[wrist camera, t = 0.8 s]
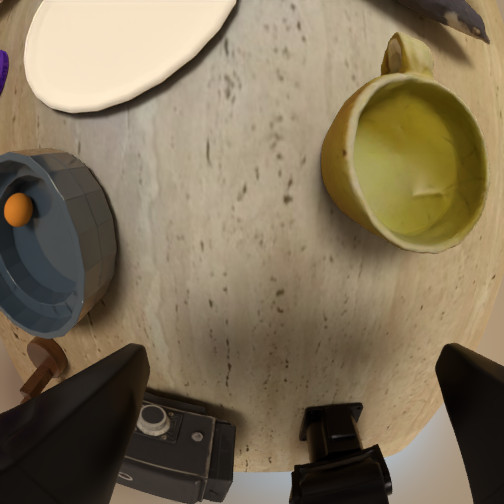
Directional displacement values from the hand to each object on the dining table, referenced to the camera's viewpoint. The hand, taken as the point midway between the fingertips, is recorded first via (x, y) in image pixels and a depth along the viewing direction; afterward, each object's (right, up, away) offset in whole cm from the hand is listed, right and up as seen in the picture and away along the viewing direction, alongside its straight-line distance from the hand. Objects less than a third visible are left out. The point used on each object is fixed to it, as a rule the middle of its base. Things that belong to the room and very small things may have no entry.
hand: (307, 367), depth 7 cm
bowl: (-20, +5, +14) cm, 24 cm away
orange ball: (-22, +7, +11) cm, 25 cm away
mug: (+7, +11, +11) cm, 17 cm away
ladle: (-26, -15, +21) cm, 36 cm away
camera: (-10, -14, +20) cm, 27 cm away
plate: (-13, +24, +7) cm, 28 cm away
